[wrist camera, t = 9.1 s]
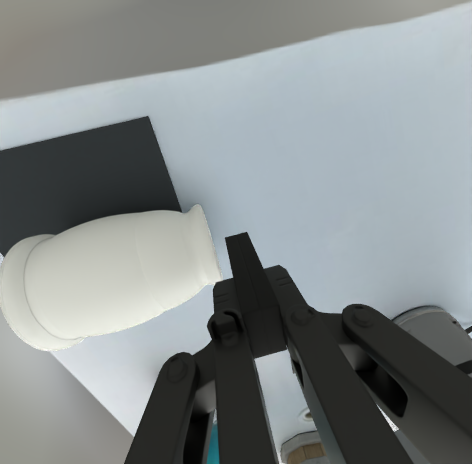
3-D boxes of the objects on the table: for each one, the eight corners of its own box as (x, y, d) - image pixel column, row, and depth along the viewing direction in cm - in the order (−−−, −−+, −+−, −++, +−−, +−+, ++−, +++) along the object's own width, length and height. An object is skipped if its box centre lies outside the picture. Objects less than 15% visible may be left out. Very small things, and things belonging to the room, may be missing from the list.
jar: (191, 170, 20) (19, 212, 18) (219, 262, 14) (-32, 340, 12) (209, 234, 29) (94, 268, 27) (232, 308, 23) (85, 359, 21)
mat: (148, 116, 20) (147, 116, 20) (206, 280, 29) (206, 281, 29) (-68, 167, 19) (-72, 167, 19) (59, 319, 28) (57, 321, 28)
